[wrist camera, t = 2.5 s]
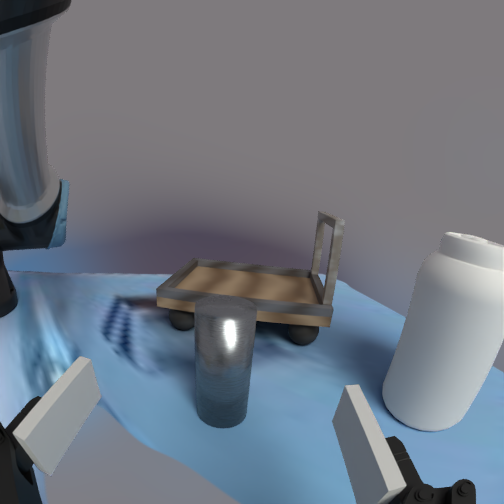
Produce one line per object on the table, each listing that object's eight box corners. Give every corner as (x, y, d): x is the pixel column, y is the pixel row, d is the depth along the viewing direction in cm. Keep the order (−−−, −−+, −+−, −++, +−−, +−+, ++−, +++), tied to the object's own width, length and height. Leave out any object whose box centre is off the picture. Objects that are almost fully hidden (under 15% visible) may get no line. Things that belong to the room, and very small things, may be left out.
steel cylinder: (191, 422, 22) (186, 316, 19) (203, 391, 27) (203, 292, 24) (243, 431, 22) (254, 325, 19) (248, 398, 26) (259, 299, 24)
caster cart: (158, 333, 38) (156, 205, 34) (192, 292, 55) (196, 200, 51) (323, 354, 36) (347, 222, 32) (310, 305, 54) (323, 211, 49)
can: (374, 370, 32) (411, 221, 27) (448, 373, 29) (490, 238, 24) (385, 436, 20) (457, 237, 16) (475, 429, 17) (548, 259, 13)
